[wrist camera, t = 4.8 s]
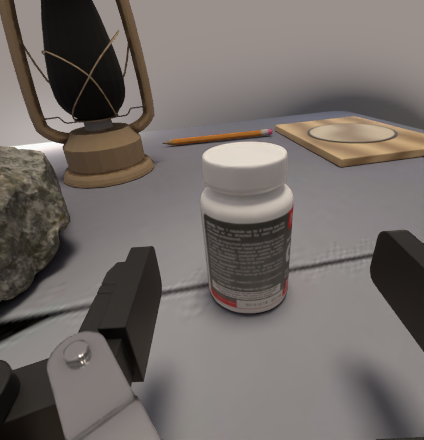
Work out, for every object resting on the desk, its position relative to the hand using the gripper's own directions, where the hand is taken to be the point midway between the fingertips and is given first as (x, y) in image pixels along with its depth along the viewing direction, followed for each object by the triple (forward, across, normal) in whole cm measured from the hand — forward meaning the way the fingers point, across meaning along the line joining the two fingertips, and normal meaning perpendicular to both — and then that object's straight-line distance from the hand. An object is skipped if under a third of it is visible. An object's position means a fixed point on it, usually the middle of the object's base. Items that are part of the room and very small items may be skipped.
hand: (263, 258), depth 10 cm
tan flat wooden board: (+36, -19, +6) cm, 42 cm away
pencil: (+41, +1, +6) cm, 42 cm away
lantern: (+29, +16, +6) cm, 34 cm away
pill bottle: (+5, 0, +6) cm, 8 cm away
